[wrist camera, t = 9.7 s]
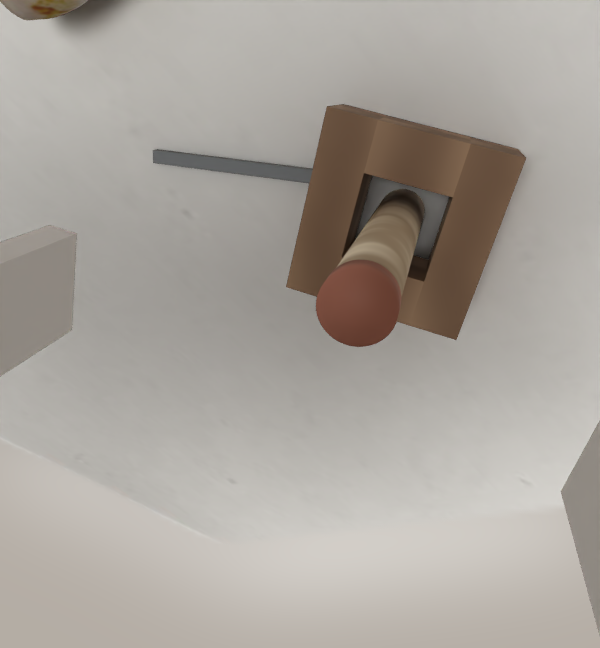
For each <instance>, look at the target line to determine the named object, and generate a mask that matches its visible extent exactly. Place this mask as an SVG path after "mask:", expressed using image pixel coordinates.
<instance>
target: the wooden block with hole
mask: <svg viewBox="0 0 600 648" xmlns="http://www.w3.org/2000/svg"><path fill="white" fill-rule="evenodd" d="M525 160H526V157H525V156H524V155H523V154H522V153H521V152H520V151H519V150H518V149H515V148H511V147H508V146H504V145H500V144H496V143H492V142H488V141H484V140H480V139H476V138H473V137H469V136H465V135H461V134H457V133H453V132H449V131H445V130H442V129H438V128H434V127H430V126H426V125H422V124H418V123H414V122H410V121H407V120H403V119H399V118H395V117H391V116H387V115H383V114H379V113H375V112H372V111H368V110H364V109H360V108H356V107H352V106H348V105H344V104H342V105H334V106H327V108H326V113H325V117H324V122H323V126H322V130H321V135H320V139H319V144H318V148H317V152H316V157H315V161H314V166H313V170H312V175H311V179H310V183H309V188H308V192H307V197H306V201H305V205H304V210H303V214H302V219H301V223H300V228H299V232H298V236H297V241H296V245H295V250H294V254H293V258H292V263H291V267H290V272H289V276H288V280H287V285H286V287H288V288H291V289H294V290H297V291H300V292H304V293H307V294H310V295H313V296H316V297H317V295H318V292H319V290H320V288H321V286H322V285H323V283H324V282H325V281H326V279H327V278H328V276H329V275H330V274H331V272H332V271H333V270H334V269H335V268H336V267H337V266H338V264H339V263H340V262H341V260H342V259H343V257H344V256H345V254H346V253H347V251H348V250H349V248H350V247H351V246H352V244H353V243H354V241H355V240H356V238H355V237H356V233H357V229H358V226H359V222H360V218H361V215H362V211H363V207H364V204H365V200H366V196H367V193H368V189H369V185H370V182H371V178H372V175H373V176H376V177H380V178H384V179H387V180H391V181H394V182H398V183H402V184H405V185H409V186H413V187H416V188H420V189H424V190H427V191H431V192H435V193H438V194H442V195H445V196H449V200H448V203H447V206H446V209H445V212H444V215H443V218H442V221H441V224H440V227H439V230H438V233H437V236H436V239H435V242H434V245H433V248H432V251H431V254H430V257H429V260H428V259H424V258H421V257H418V256H414V255H413V258H412V261H411V265H410V268H409V272H408V276H407V279H406V283H405V286H404V290H403V294H402V297H401V307H400V311H399V314H398V318H397V322H400V323H403V324H406V325H410V326H413V327H416V328H419V329H423V330H426V331H429V332H432V333H435V334H439V335H442V336H445V337H448V338H452V339H455V340H456V339H457V337H458V334H459V332H460V329H461V326H462V324H463V321H464V319H465V316H466V313H467V311H468V308H469V306H470V303H471V300H472V298H473V295H474V293H475V290H476V287H477V285H478V282H479V280H480V277H481V274H482V272H483V269H484V267H485V264H486V261H487V259H488V256H489V254H490V251H491V248H492V246H493V243H494V241H495V238H496V235H497V233H498V230H499V228H500V225H501V222H502V220H503V217H504V215H505V212H506V209H507V207H508V204H509V201H510V199H511V196H512V194H513V191H514V188H515V186H516V183H517V181H518V178H519V175H520V173H521V170H522V168H523V165H524V162H525Z"/></svg>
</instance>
